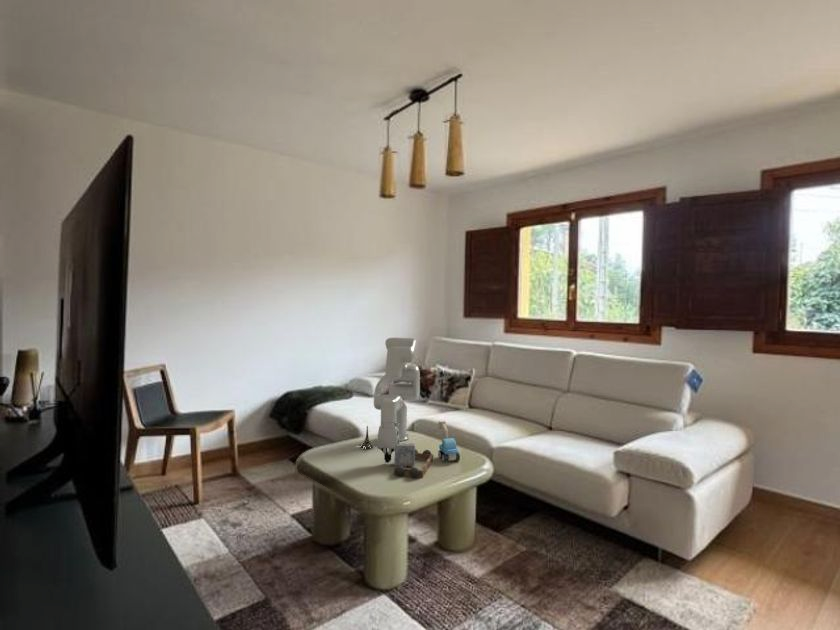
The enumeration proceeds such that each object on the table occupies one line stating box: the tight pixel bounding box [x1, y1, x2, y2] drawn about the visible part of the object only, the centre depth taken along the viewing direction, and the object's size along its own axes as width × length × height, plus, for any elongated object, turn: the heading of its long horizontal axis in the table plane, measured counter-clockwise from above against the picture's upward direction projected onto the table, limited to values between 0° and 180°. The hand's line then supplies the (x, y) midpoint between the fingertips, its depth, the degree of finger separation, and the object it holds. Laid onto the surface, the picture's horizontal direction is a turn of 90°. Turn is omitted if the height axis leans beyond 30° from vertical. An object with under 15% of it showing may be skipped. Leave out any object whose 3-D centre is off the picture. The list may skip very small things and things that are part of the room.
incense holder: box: [393, 442, 416, 468], centre depth 220 cm, size 10×8×10 cm
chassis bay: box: [393, 448, 434, 479], centre depth 218 cm, size 26×14×4 cm, turn 166°
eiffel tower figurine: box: [358, 425, 374, 451], centre depth 243 cm, size 15×10×13 cm
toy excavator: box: [437, 420, 461, 463], centre depth 231 cm, size 9×17×17 cm, turn 18°
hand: (387, 461), depth 221 cm, fingers closed
